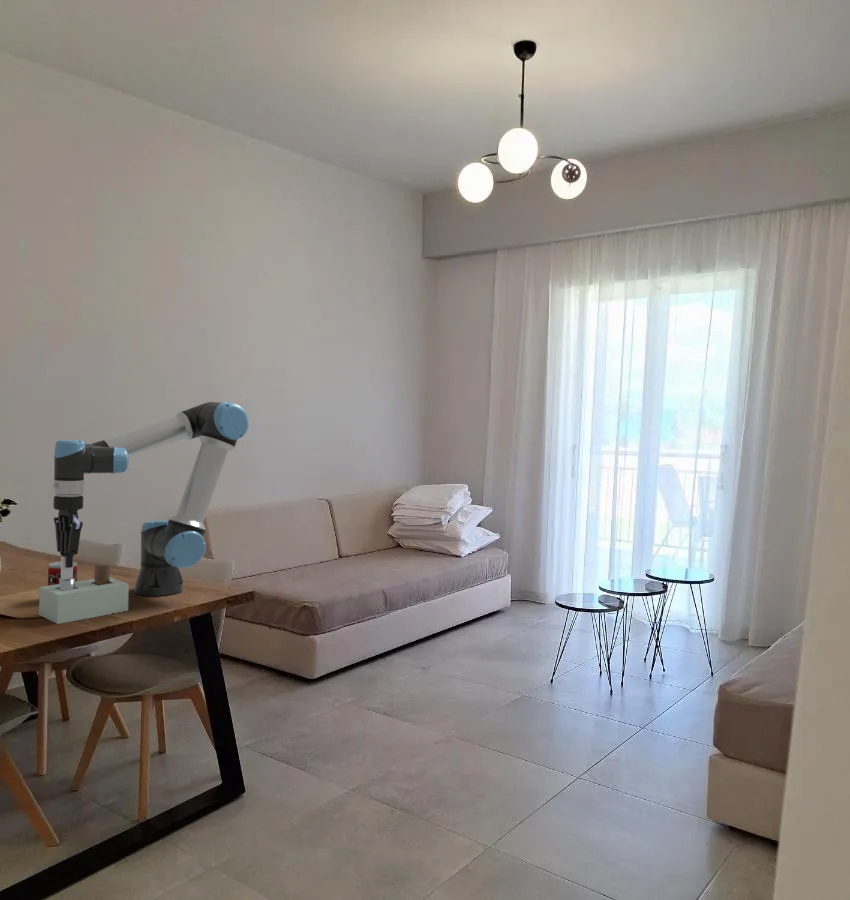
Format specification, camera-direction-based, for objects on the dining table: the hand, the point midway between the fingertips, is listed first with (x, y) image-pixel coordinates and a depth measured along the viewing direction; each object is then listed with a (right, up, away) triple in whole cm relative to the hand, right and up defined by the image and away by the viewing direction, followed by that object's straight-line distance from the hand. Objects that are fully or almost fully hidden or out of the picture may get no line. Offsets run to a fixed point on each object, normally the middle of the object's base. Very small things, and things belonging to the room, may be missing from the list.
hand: (66, 578), depth 205 cm
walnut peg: (+6, -6, +8) cm, 12 cm away
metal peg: (0, -8, 0) cm, 8 cm away
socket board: (+3, -11, +4) cm, 12 cm away
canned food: (-10, -10, +18) cm, 23 cm away
